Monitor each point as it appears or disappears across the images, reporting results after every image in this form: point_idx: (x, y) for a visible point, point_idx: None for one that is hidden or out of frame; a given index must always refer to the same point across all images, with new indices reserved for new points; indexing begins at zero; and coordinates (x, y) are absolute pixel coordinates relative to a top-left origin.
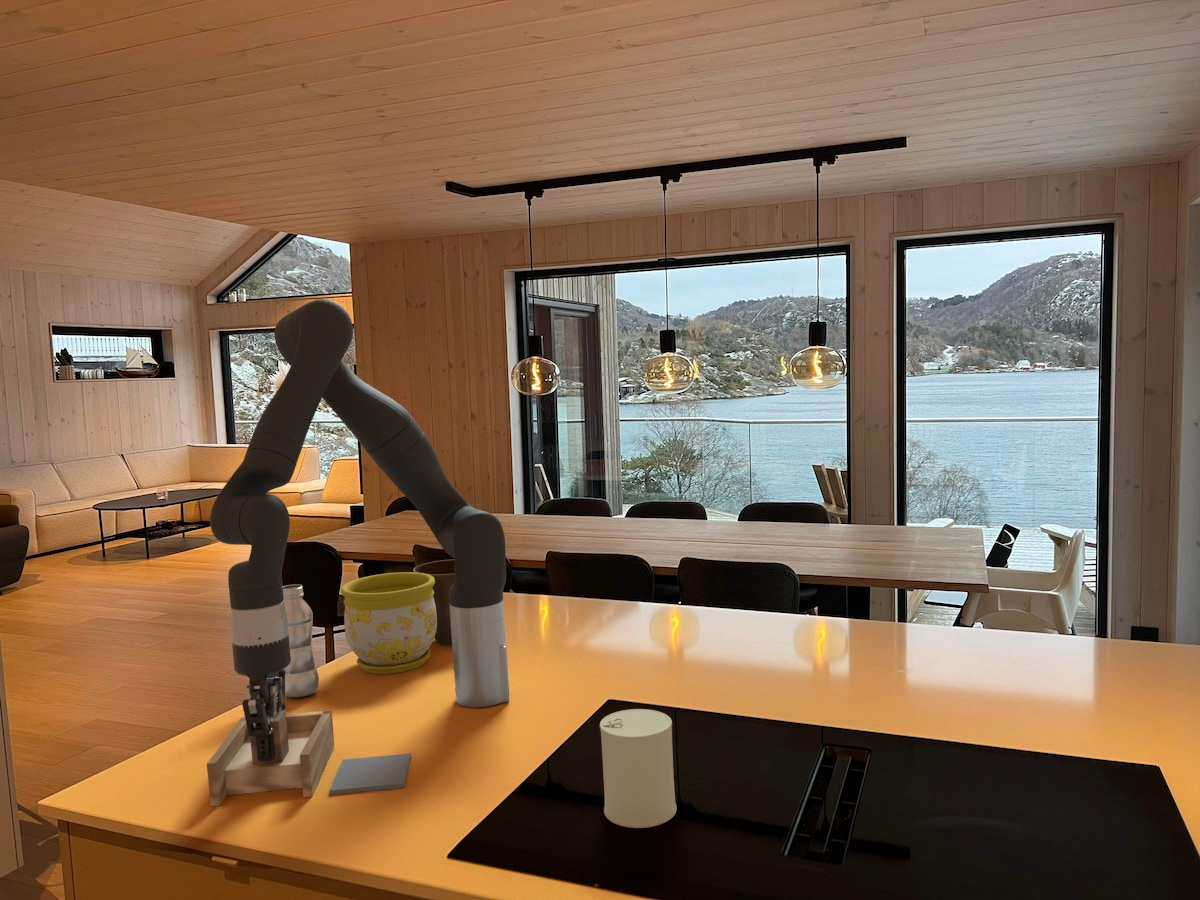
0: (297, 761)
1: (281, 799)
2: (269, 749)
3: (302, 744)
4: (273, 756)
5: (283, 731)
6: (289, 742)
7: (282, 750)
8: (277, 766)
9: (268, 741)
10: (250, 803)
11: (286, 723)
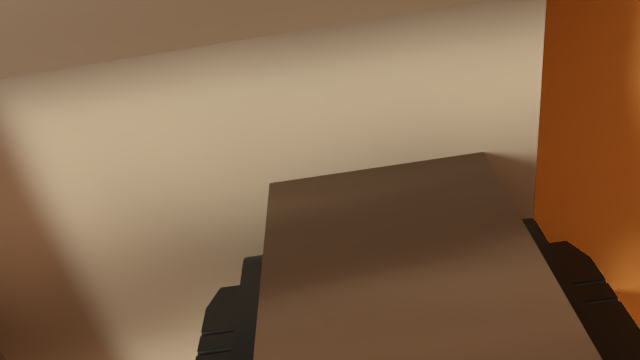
0: (490, 39)
1: (612, 31)
2: (580, 287)
3: (147, 127)
4: (538, 227)
5: (404, 310)
6: (121, 232)
7: (470, 200)
8: (534, 160)
9: (631, 345)
10: (605, 176)
11: (255, 354)
